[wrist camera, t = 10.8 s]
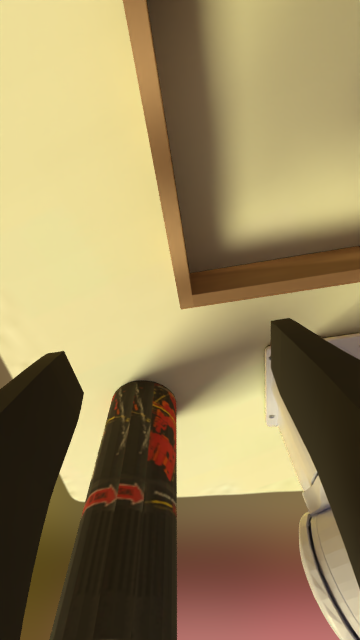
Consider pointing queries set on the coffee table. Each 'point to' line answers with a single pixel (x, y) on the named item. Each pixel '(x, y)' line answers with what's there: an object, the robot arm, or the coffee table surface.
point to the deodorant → (127, 527)
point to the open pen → (190, 286)
